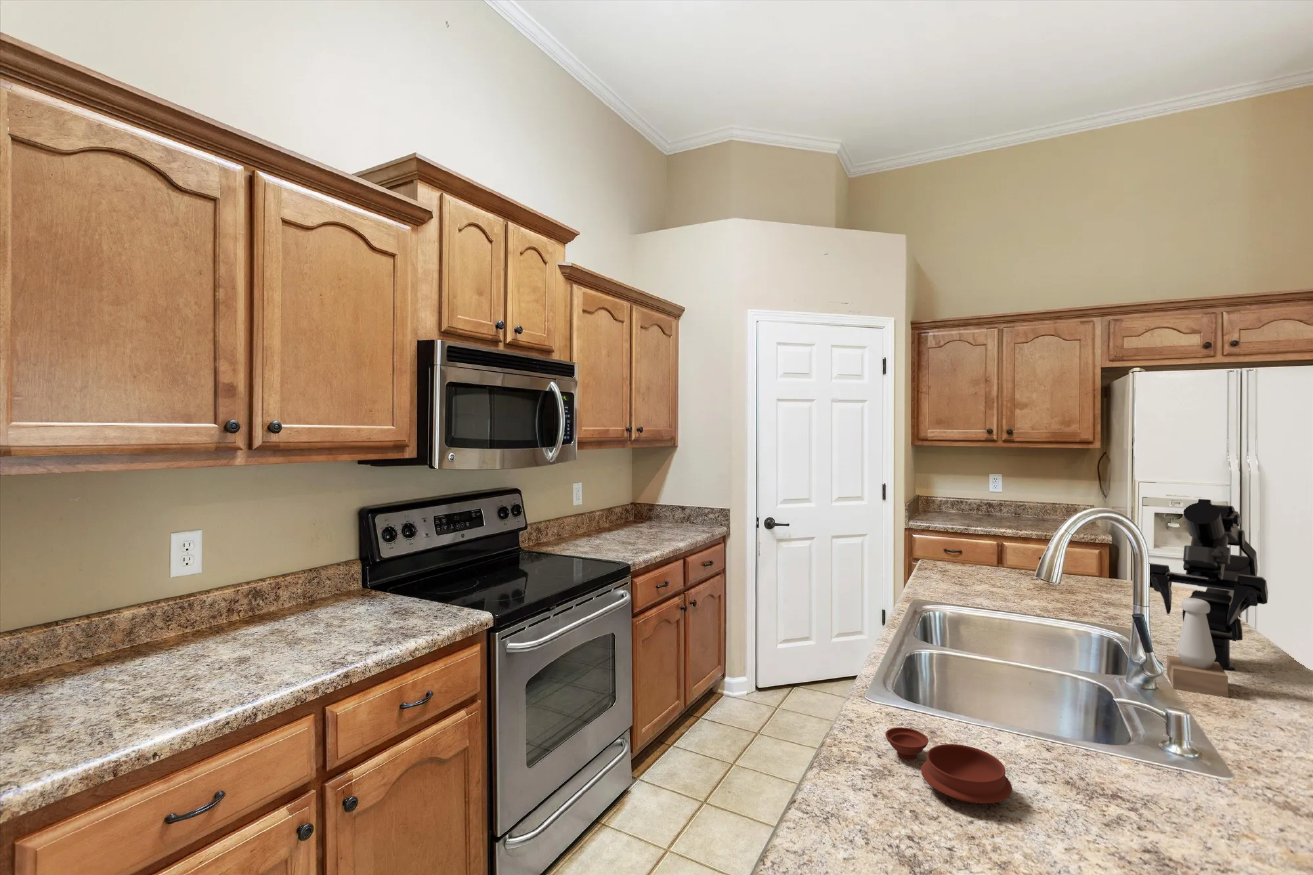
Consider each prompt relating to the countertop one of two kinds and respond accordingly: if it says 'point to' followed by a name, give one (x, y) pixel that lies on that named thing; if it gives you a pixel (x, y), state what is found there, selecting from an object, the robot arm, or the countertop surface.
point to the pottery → (954, 768)
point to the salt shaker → (1196, 635)
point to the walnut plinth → (1197, 678)
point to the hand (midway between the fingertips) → (1197, 617)
